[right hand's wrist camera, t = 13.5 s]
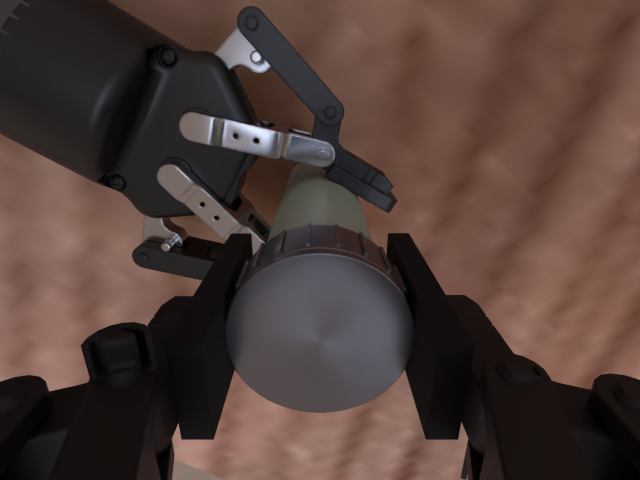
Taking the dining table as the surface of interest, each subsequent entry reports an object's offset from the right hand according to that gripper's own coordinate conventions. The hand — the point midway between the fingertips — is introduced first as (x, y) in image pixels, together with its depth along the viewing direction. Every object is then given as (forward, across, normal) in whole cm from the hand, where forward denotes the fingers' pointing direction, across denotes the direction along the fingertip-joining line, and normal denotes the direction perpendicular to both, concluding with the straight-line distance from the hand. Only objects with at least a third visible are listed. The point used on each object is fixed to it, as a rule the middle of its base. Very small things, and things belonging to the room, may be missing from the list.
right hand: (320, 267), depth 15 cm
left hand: (+6, -2, +1) cm, 7 cm away
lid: (-4, 0, 0) cm, 4 cm away
